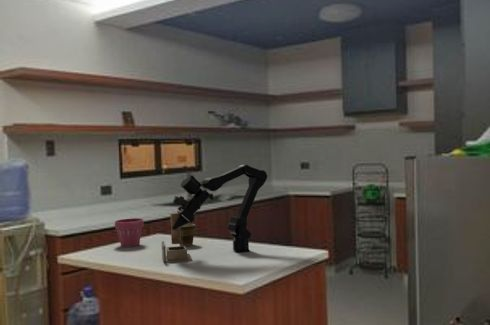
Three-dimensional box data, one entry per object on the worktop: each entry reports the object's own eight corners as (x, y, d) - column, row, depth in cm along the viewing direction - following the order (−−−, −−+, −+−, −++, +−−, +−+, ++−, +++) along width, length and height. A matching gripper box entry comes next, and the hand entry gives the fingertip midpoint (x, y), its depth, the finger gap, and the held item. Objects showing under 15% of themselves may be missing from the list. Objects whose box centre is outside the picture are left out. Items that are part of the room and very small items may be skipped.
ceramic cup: (185, 242, 246) (184, 223, 246) (200, 244, 240) (199, 224, 240) (167, 247, 235) (166, 226, 235) (182, 249, 230) (181, 228, 229)
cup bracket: (189, 255, 215) (188, 239, 215) (192, 260, 204) (191, 244, 203) (162, 257, 213) (161, 241, 212) (163, 263, 201) (163, 246, 201)
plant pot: (110, 245, 244) (109, 220, 244) (135, 241, 254) (134, 217, 253) (124, 249, 234) (123, 222, 233) (149, 244, 243) (148, 219, 243)
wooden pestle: (180, 242, 211) (179, 212, 210) (181, 243, 207) (180, 213, 206) (171, 242, 210) (170, 213, 209) (171, 244, 206) (170, 214, 206)
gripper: (181, 187, 218) (157, 213, 215) (185, 190, 199) (159, 218, 197) (199, 203, 220) (176, 229, 217) (205, 208, 201) (179, 236, 199)
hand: (172, 228), depth 208 cm, fingers closed on wooden pestle, 4 cm apart
